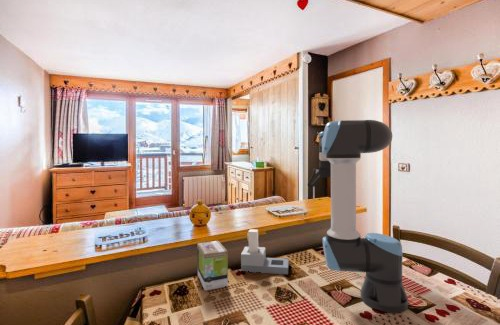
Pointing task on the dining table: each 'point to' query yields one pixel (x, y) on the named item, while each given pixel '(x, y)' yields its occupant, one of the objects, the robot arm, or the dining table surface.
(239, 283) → the dining table surface
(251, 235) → the plug
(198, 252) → the tea box
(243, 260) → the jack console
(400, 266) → the robot arm
